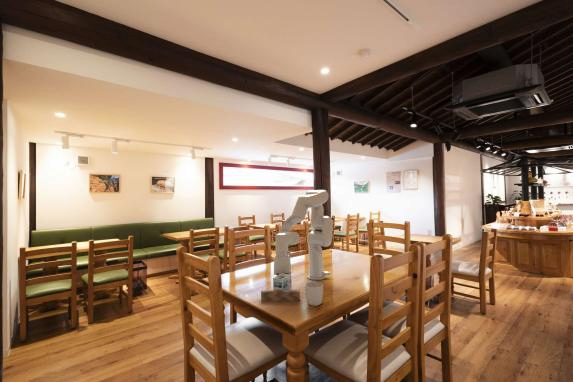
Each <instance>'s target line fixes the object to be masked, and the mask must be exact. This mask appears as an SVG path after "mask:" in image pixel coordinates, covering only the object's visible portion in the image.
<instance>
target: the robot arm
mask: <svg viewBox="0 0 573 382" xmlns="http://www.w3.org/2000/svg"><path fill="white" fill-rule="evenodd" d="M328 200H329V192H328V191H327V190H326V189H315V190H314V189H313V190H308V191H306V192H305V194H302V195H299V196H298V197H297V199H296V203H295V205H294V207H293V210H292V213H291V215H289V216H288V217H287V219H285V221H284V222H283V223H282V224H281V226H280V228H279V231H278V233H276V234H275V242H274V243H275V255H274V260H273V275H275V276H278V275H280V274H281V273H284V274H290V275H291V276H292V263H291V256H290V255H291V253H292V252H291V251H289V245H295V244H298V243H299V241H300V239H301V238H300V234H299V233H298V232H296V231H290V230H291V228H292V227H293V226H296V225H297V224H299V223H301V222H303V221H304V220H305V218H306V215H307V212H308V210H309V209H310V208H311V212H310V213H311V215H310V227H311V228H312V229H313V230H312V231H310V232H308V233H307V236H306V242H307V245H308V265H309V266H308V269H309V272H308V273H309V274H307V275H306V277H307V279H309V280H311V281H321V280H322V281H323V280H325V279H326V277H327V276H331V272H330V271H325V270H324V259H323V258H324V255H323V254H324V253H323V249H322V247H324V248H327V247H329V246H330V245H331V244H332V240H333V229H334V226H333V225H334V222H333V219H332V217H330V216H328V215H324V211H325V210H324V206H323V204H325V203H326V202H327V201H328ZM316 230H317V231H316ZM318 230H320V231H318Z"/></svg>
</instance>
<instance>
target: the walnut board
mask: <svg viewBox="0 0 573 382" xmlns="http://www.w3.org/2000/svg"><path fill="white" fill-rule="evenodd" d="M260 301H261V302H300V301H301V293H300V290H299V289H298V290H297V289H296V290H295V289H294V290H293V289H292V290H273V289H272V290H269V289H268V290H267V289H265V290H260Z"/></svg>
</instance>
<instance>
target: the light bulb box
mask: <svg viewBox="0 0 573 382" xmlns="http://www.w3.org/2000/svg"><path fill="white" fill-rule="evenodd" d="M272 283H273V284H272V285H273V286H272V287H273V289H272V290H293V288H292V287H293V286H292V274H291V275H290V274H284V273H281V274H280V275H275V277H273V278H272Z"/></svg>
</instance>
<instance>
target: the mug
mask: <svg viewBox="0 0 573 382" xmlns="http://www.w3.org/2000/svg"><path fill="white" fill-rule="evenodd" d="M305 295H306V301H307V303H308V304H309V306H314V307H315V306H320V305H321V304H322V302H323V296H324V284H323V283H322V282H320V281H308V282H306V283H305Z"/></svg>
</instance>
